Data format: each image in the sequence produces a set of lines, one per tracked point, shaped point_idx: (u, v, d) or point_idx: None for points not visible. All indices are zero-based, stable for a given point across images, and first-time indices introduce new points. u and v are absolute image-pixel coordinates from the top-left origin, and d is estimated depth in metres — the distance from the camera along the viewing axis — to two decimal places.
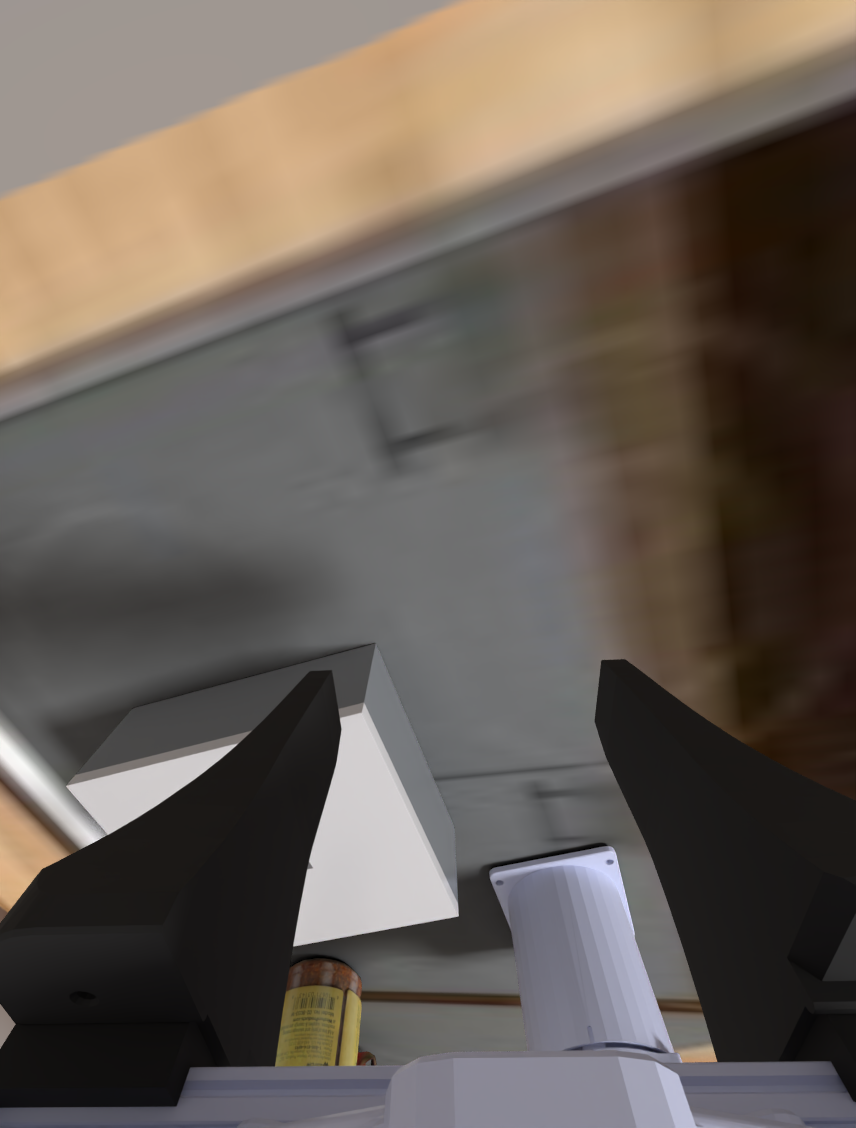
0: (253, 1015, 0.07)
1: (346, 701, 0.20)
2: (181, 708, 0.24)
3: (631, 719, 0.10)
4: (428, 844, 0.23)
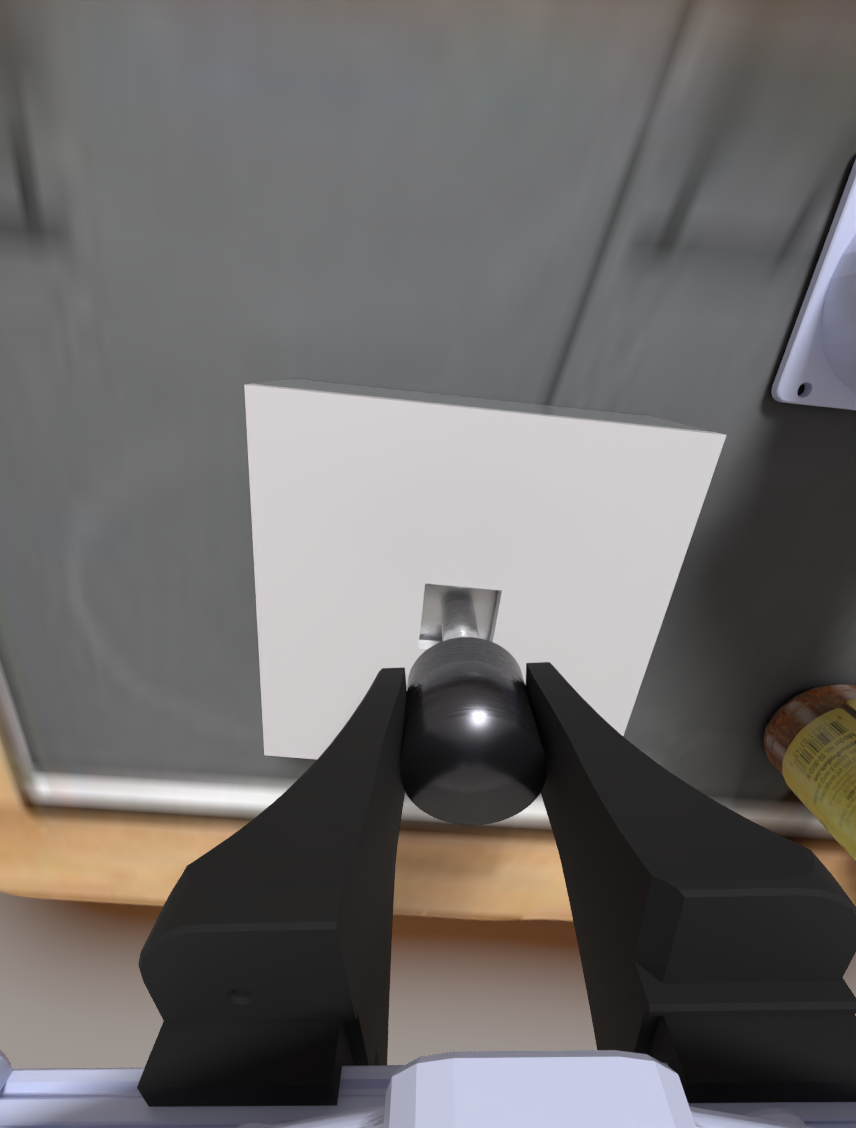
0: (376, 1013, 0.07)
1: None
2: None
3: (544, 723, 0.11)
4: (547, 415, 0.14)
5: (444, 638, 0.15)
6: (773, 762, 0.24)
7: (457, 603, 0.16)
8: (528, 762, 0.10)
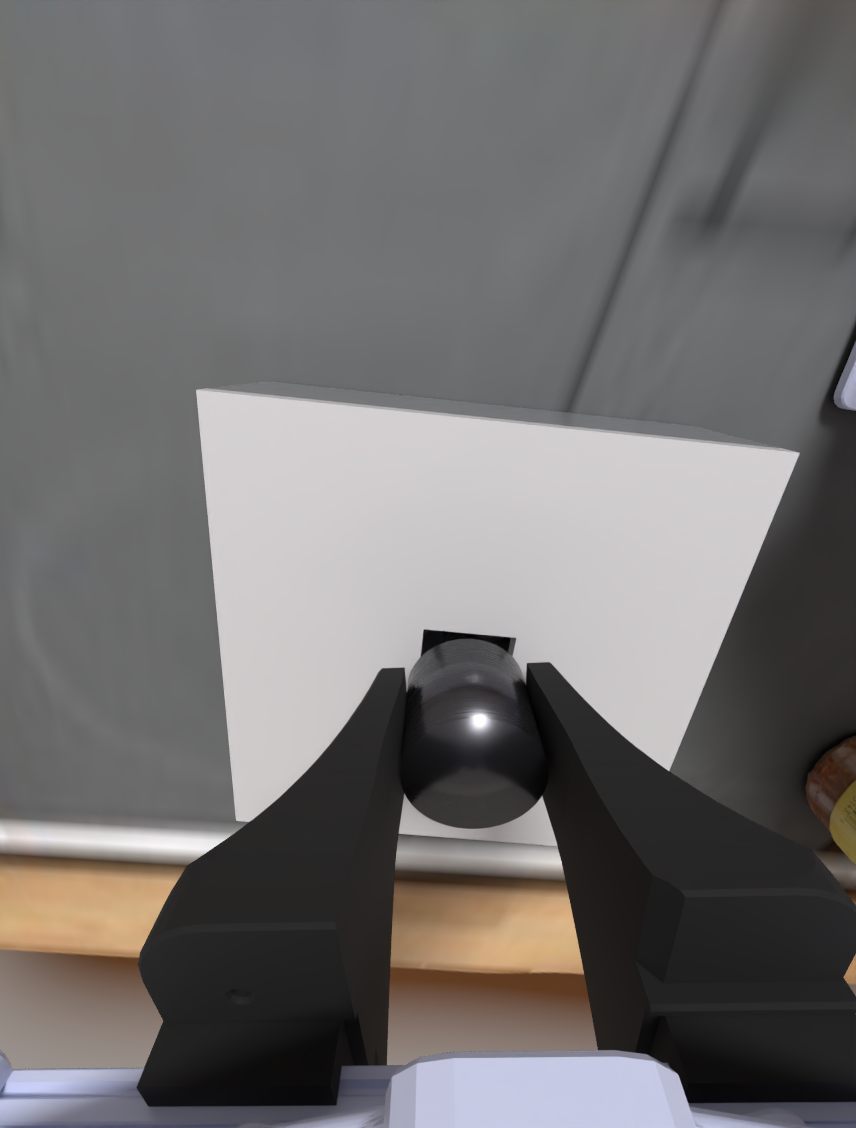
0: (376, 1013, 0.07)
1: None
2: None
3: (545, 722, 0.11)
4: (575, 427, 0.11)
5: (444, 639, 0.15)
6: (817, 814, 0.21)
7: None
8: (529, 766, 0.10)
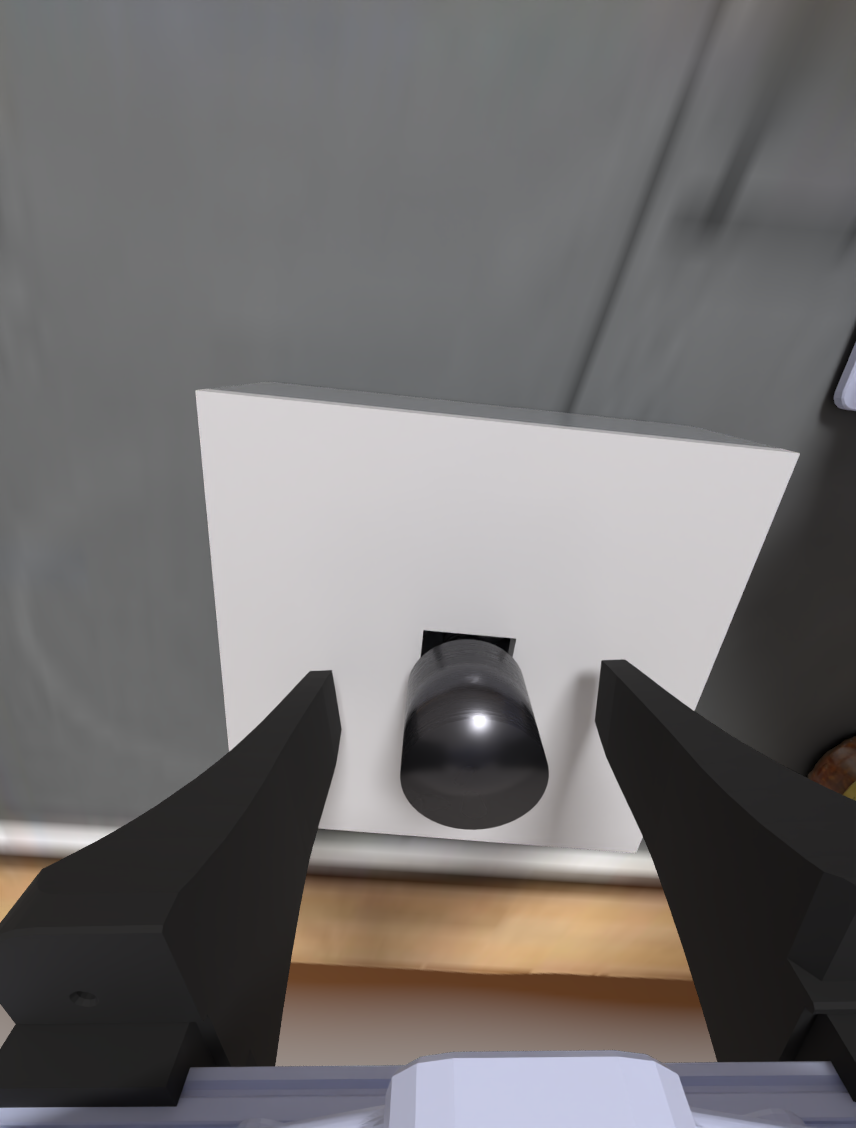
0: (253, 1015, 0.07)
1: None
2: None
3: (631, 720, 0.10)
4: (575, 428, 0.11)
5: (444, 640, 0.15)
6: None
7: None
8: (529, 766, 0.10)
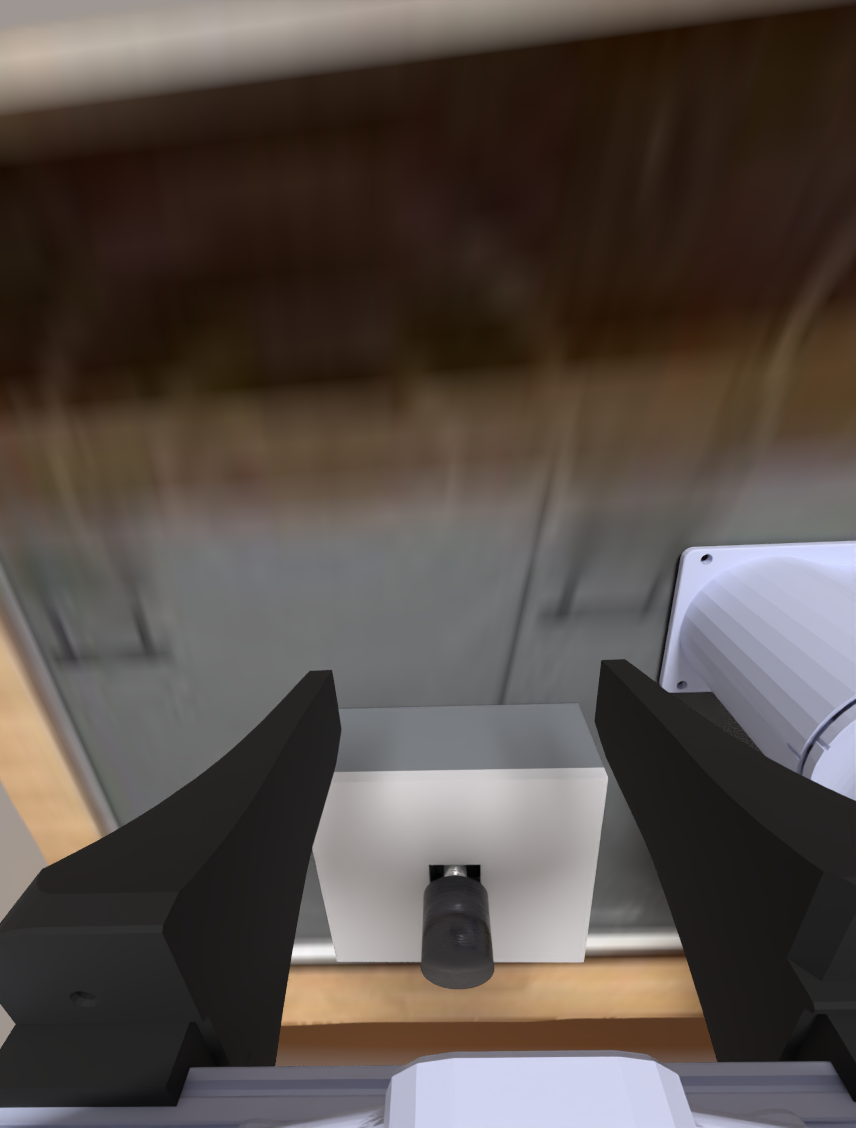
0: (253, 1015, 0.07)
1: None
2: None
3: (631, 719, 0.10)
4: (489, 774, 0.21)
5: None
6: None
7: None
8: (483, 962, 0.20)
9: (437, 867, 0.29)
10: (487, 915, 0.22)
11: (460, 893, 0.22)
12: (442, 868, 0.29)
